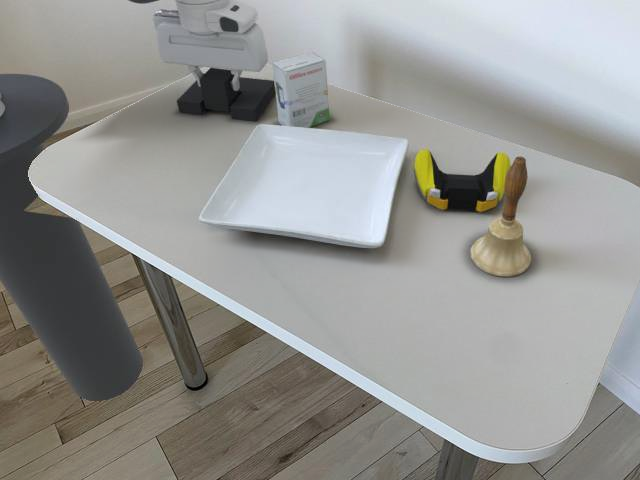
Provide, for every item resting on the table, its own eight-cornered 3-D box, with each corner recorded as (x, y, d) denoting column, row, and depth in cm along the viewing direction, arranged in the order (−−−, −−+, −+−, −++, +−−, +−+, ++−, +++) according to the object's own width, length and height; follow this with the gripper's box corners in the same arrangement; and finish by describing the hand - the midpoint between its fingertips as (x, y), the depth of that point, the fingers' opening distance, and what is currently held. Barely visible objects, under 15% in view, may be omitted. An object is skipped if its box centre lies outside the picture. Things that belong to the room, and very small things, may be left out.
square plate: (200, 239, 81) (194, 218, 78) (260, 140, 100) (257, 120, 97) (382, 263, 77) (383, 242, 74) (409, 155, 96) (410, 135, 93)
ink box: (291, 134, 101) (284, 72, 93) (277, 122, 105) (270, 61, 96) (330, 120, 105) (327, 59, 96) (316, 109, 108) (312, 49, 100)
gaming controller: (413, 173, 92) (411, 211, 85) (415, 144, 88) (413, 181, 81) (505, 177, 90) (511, 216, 83) (511, 149, 87) (518, 187, 80)
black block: (205, 108, 107) (199, 79, 102) (215, 96, 110) (210, 67, 106) (229, 111, 106) (224, 82, 101) (239, 99, 109) (234, 70, 105)
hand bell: (473, 276, 75) (492, 179, 63) (467, 235, 80) (483, 140, 69) (536, 277, 74) (566, 180, 63) (524, 236, 80) (550, 141, 69)
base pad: (179, 112, 108) (176, 100, 106) (205, 84, 116) (203, 73, 114) (256, 121, 105) (254, 109, 103) (277, 92, 113) (276, 80, 111)
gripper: (141, 15, 96) (162, 89, 105) (252, 24, 92) (263, 101, 101) (159, 2, 100) (177, 75, 110) (265, 10, 96) (274, 85, 106)
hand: (219, 87), depth 105 cm, fingers closed on black block, 5 cm apart
